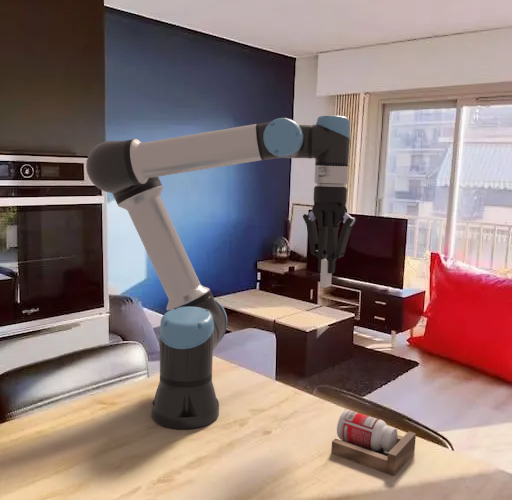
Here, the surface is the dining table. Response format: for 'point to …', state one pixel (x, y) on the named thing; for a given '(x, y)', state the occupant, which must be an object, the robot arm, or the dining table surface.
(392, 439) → the pill bottle
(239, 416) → the dining table surface
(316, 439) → the dining table surface
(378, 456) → the tray
